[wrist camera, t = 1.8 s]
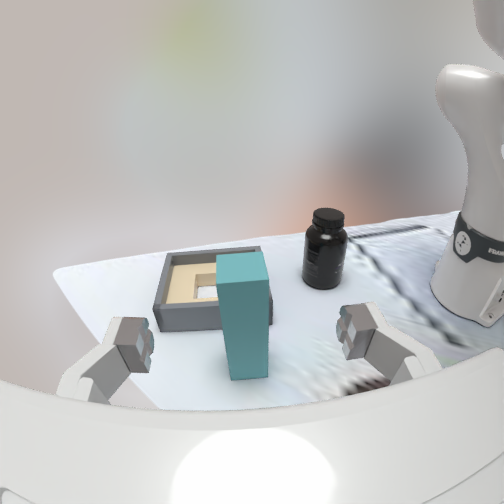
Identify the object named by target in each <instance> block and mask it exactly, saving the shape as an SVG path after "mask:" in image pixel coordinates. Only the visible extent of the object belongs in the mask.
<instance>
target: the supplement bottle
mask: <svg viewBox="0 0 504 504" xmlns="http://www.w3.org/2000/svg"><path fill="white" fill-rule="evenodd" d="M312 224H313V225H311V226H310V227H309V228H308V229H307V231H306V234H305V246H304V258H303V270H302V276H303V279H304V280H305V282H306V283H307V284H309V285H310V286H312V287H315V288H319V289H328V288H332V287H334V286H336V285H337V284H338V283H339V282H340V280H341V276H342V271H343V265H344V260H345V254H346V248H347V241H348V236H347V233H346V231H345V230H344V229H343V227H344V214H343V213H342V212H341V211H339V210H336V209H332V208H319V209H317V210H315V211H314V213H313V220H312Z"/></svg>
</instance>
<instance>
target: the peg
mask: <svg viewBox="0 0 504 504" xmlns="http://www.w3.org/2000/svg"><path fill="white" fill-rule="evenodd" d="M216 287H217V294H218V301H219V308H220V315H221V322H222V328H223V335H224V341H225V347H226V353H227V359H228V365H229V371H230V377H231V380H243V379H254V378H264V377H268V338H269V277H268V273H267V269H266V264H265V260H264V256H263V252H262V251H261V252H248V253H235V254H223V255H216Z"/></svg>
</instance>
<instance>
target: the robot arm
mask: <svg viewBox="0 0 504 504" xmlns="http://www.w3.org/2000/svg"><path fill="white" fill-rule="evenodd" d="M473 4H474V11H475V17H476V26H477V29H478V32H479V34H480V35H481V37H482V39H483V40H484V41H485V43H486V44H487V45H488V46H489V47H490V48H491V49H492V50H493V51H494V52H495V53H496V54H497V55H499V56H500V57H501V58H502V59H504V0H473ZM435 91H436V98H437V102H438V105H439V107H440V109H441V111H442V113H443V115H444V116H445V117H446V119H447V120H448V121H449V122H450V123H451V124H452V125H453V127H454V128H455V130H456V131H457V133H458V135H459V136H460V138H461V140H462V143H463V145H464V148H465V152H466V156H467V162H468V179H467V187H466V193H465V199H464V203H463V207H462V211H461V212H459V214H458V217H457V219H456V222H455V223H456V224H455V227H454V231H453V233H454V234H452V235H451V236H450V239H449V241H448V243H447V246H446V248H445V250H444V252H443V255H442V257H441V259H440V261H437V262H436V264H435V273H434V274H433V276H432V278H431V281H430V284H431V289H432V291H433V293H434V295H435V297H436V298H437V299H438V300H439V302H440V303H441V304H442V305H444V306H445V307H446V308H447V309H449V310H450V311H452V312H453V313H455V314H457V315H459V316H462V317H464V318H468V319H472V320H475V321H476V322H478V323H480V324H481V325H483V326H485V327H490V326H491V325H493V324H494V323H495V322H496V321H497V320H498V319H499V318H501V317H502V316H503V315H504V159H503V157H502V154H501V145H502V144H504V75H503V74H500V73H497V72H494V71H491V70H488V69H484V68H481V67H477V66H473V65H462V64H448V65H446V66H445V67H444V68H443V69H442V70H441V72H440V74H439V75H438V78H437V81H436V88H435ZM339 313H340V315H341V317H340V318H339V319H338V321H337V325H336V332H337V337H338V340H339V341H340V342H341V343H343V347H342V350H343V353H344V355H345V358H346V360H352V359H358V358H364V359H365V360H367V361H368V362H369V363H370V364H371V365H372V366H374V367H375V368H376V369H377V370H378V371H379V372H381V373H382V374H383V375H384V376H385V377H386V378H387V379H389V380H390V381H391V383H390V385H389V386H387V387H383V388H380V389H376V390H372V391H367V392H363V393H359V394H354V395H349V396H345V397H339V398H334V399H329V400H323V401H317V402H311V403H304V404H297V405H289V406H280V407H271V408H259V409H245V410H222V411H181V410H158V409H143V408H133V407H124V406H116V405H111V404H110V402H109V401H108V400H109V398H110V397H111V396H112V395H113V394H114V393H115V391H116V390H117V389H118V388H119V387H120V385H121V384H122V383H123V382H124V381H125V380H126V378H127V377H128V376H129V375H130V374H131V373H149V369H150V365H151V359H150V357H149V356H150V355H151V354H152V353H153V350H154V338H153V334H152V332H151V331H150V330H149V329H148V326H149V323H148V320H147V318H139V317H113V318H112V319H111V322H110V324H109V327H108V329H107V332H106V334H105V337H104V339H103V342H102V344H98V345H97V346H96V347H95V348H93V349H92V350H91V351H90V352H89V353H87V354H86V355H85V356H84V357H82V358H81V359H80V360H79V361H78V362H76V363H75V364H74V365H73V366H72V367H70V368H69V369H68V370H67V371H65V372H64V373H63V376H62V378H61V381H60V384H59V386H58V389H57V392H56V394H55V395H54V394H49V393H45V392H41V391H37V390H34V389H30V388H26V387H23V386H20V385H16V384H13V383H10V382H7V381H4V380H1V379H0V504H504V350H503V349H501V348H499V347H495V348H492V349H489V350H487V351H485V352H483V353H481V354H478V355H476V356H474V357H471V358H469V359H467V360H464V361H462V362H459V363H457V364H454V365H452V366H449V367H447V368H444V369H443V368H442V366H441V365H440V363H439V361H438V360H437V358H436V356H435V354H434V353H433V351H432V350H431V349H430V348H428V347H426V346H425V345H423V344H421V343H420V342H418V341H416V340H415V339H413V338H411V337H410V336H408V335H406V334H405V333H403V332H401V331H400V330H398V329H396V328H395V327H393V326H389V325H388V323H387V321H386V320H385V318H384V316H383V315H382V313H381V311H380V310H379V308H378V306H377V305H376V303H375V302H367V303H361V304H353V305H346V306H342V307H341V309H340V312H339Z"/></svg>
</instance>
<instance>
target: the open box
mask: <svg viewBox="0 0 504 504" xmlns="http://www.w3.org/2000/svg"><path fill="white" fill-rule="evenodd" d="M248 252H261V248H260V246H252V247H239V248H226V249H213V250H201V251H188V252H176V253H167V256H166V259H165V263H164V267H163V270H162V274H161V278H160V281H159V285H158V289H157V293H156V297H155V301H154V305H153V312H154V315H155V318H156V321H157V324H158V326H159V329H160V332H174V331H196V330H214V329H223V328H222V322H221V315H220V308H219V301H218V297H214V298H199V299H197V289H198V286H210V285H216V255H223V254H235V253H248ZM272 317H273V300H272V295H271V291H270V286H269V325H272Z"/></svg>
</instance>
